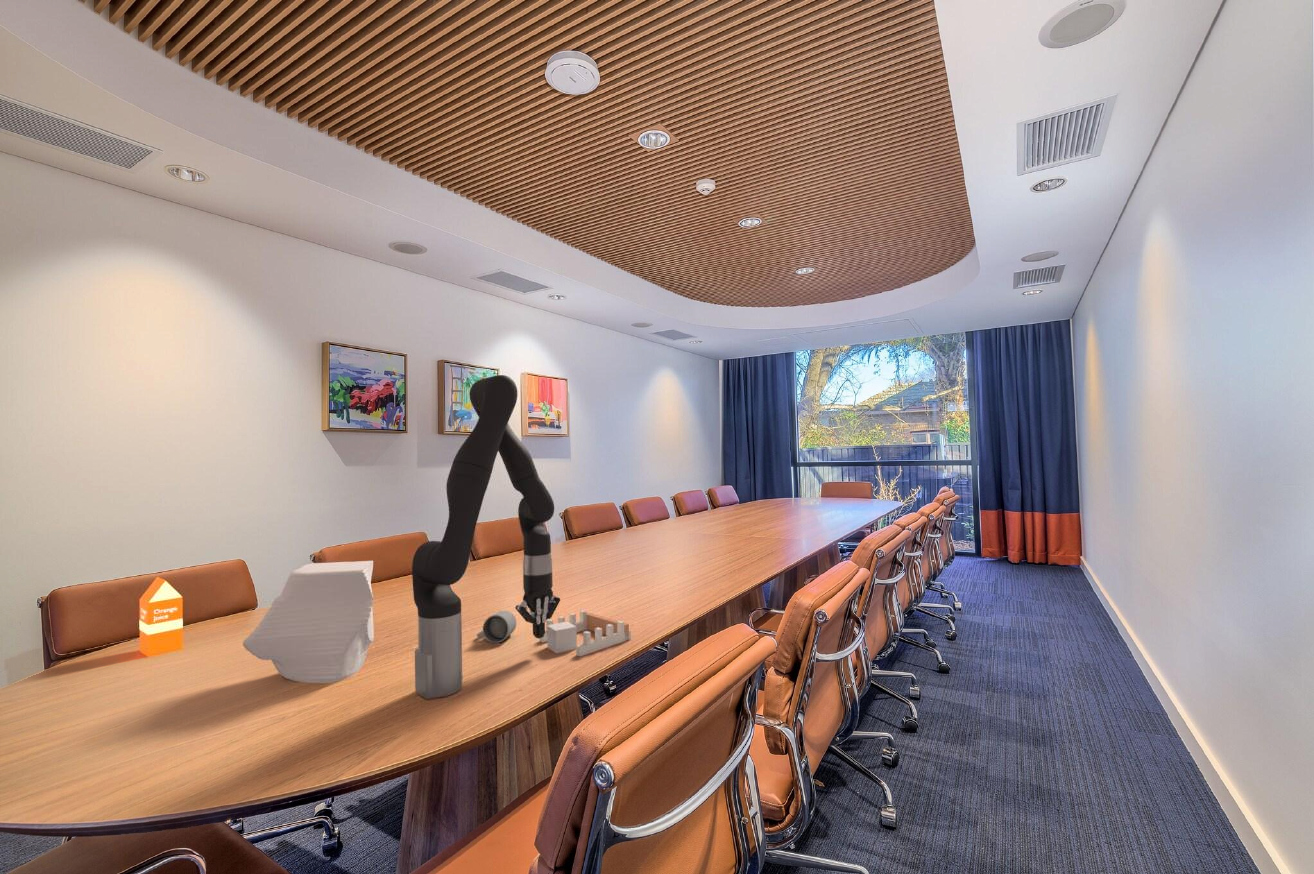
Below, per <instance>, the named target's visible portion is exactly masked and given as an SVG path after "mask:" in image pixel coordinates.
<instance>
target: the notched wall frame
mask: <svg viewBox="0 0 1314 874" xmlns="http://www.w3.org/2000/svg"><path fill="white" fill-rule="evenodd" d="M568 618H569V619H568V620H569V621H568V622H569V623H571V624H573V625H574V626H576V631H577V633H579V632H582V637H583V638H582V639H583V641H582V643H580V644H577V646H576V649H575V650H576V651H575V653H576V654H575V655H576V657H577V656H578V657H583V656H586V655H589V654H591V653H595V652H598V651H601V650H604V649H606V648H609V647H612V646H616V645H618V644H621V643H625V642H626V641H630V640H631V639H632V630H630V624H629V623H626V622H625V621H622V620H616V619H612V618H609V617H605V616H602V615H598V614H595V613H591V612H587V611H586V610H584V609H583V610H580V611H579V621H577V615H576V613H569V614H568ZM562 622H566V618H565V616H562V615H561V616H557V623H562ZM551 624H554V620H553V619H552V618H551V619H547V620H546V622H545V627H547V625H551ZM592 632H594V639H593V640H591V639H592V638H591V637H592V636H591V635H592V634H591V633H592ZM603 635H604V636H603ZM539 642H540V643H542V644H543V643H546V642H547V630H545V634H544V637H542V638H539Z"/></svg>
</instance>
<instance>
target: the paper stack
mask: <svg viewBox="0 0 1314 874" xmlns="http://www.w3.org/2000/svg"><path fill="white" fill-rule="evenodd" d="M373 567H374V560H360V561H337V562H314V563H306V564H304V565H302V566H300V567H299V568H296V569H294V570H293V571H291V572H290V574H289V576H288V578H287V580H286V582H285V585H284V586H283V588H282V591H281V593H280V595H279V596H277V597H275V598H274V600H273V602H272V603H271V606H270V607H269V609H268V610H267V611H266V613H265V615H264V616H263V617H262V618H261V621H259V624H258V626H256V627H255V629H253V631H252V632H250V634H248V636H247V637H246V638H245V639H244V640H243V642H242V646H243V648H244V649H245V650H246V651H248V652H249V653H250V654H252V656H254V657H256V658H257V659H260V660H261V661H262V660H263V661H270V660H271V662H272V664H273V666H274V667H275V669H276V671H277V672H278V673H279V675H281V676H283V678H285V679H287V680H290V681H293V682H296V683H298V682H299V683H304V684H305V683H307V684H308V683H309V684H313V683H314V684H332V683H337V682H340V681H343V680H345V679H347V678H349V677H352V676H353V675H355V674H357V673H358V672H359V671H360V670H361V668H363V665H364V663H365V659H366V657H367V654H368V650H369V648H370V644H371V643H372V642H374V638H375V636H374V635H375V634H374V633H375V632H374V631H375V629H374V628H375V627H374V618H373V617H374V615H373V612H374V611H373V602H374V593H373V590H372V586H371V585H372V584H371V583H372V582H371V581H372V576H373V570H374V568H373Z"/></svg>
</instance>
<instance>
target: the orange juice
mask: <svg viewBox="0 0 1314 874" xmlns="http://www.w3.org/2000/svg"><path fill="white" fill-rule="evenodd" d="M183 611H184V610H183V596H182V595H181V594H180V593H179V592H178V591H177V590H176V589H175V588H174V587H173V586H172V585H171V584H170V583H169V582H168V581H167V580H166V579H163V578H162V577H159V576H156V578H155V579H154V581H152V583H151V584H150V585H149V587H148V588H147V589H146V591H145V592H144V593H143V594H142V596H141V597H140V598H139V621H138V623H139V651H140V653H142V654H143V655H145V656H146V657H148V658H150V657H154V656H155V657H156V656H159V655H163V654H167V653H173V652H177V651H181V650H184V649H183V646H184V645H183V644H184V643H183V641H184V640H183V637H184V636H183V633H184V632H183V631H184V629H183V627H184V626H183V625H184V621H183V620H184V619H183Z"/></svg>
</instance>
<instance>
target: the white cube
mask: <svg viewBox="0 0 1314 874" xmlns="http://www.w3.org/2000/svg"><path fill="white" fill-rule="evenodd" d="M546 631H547V643H546V645H547V648H548V649H549V650H551V651H552V652H554V653H555V654H560V653H563V652H569V651H572V650H576V646H577V645H578V640H577V639H578V637H577V633H578V632H577V631H576V626H574V625H573V624H571V623H569V621H565V622H562V623H558V622H556V623H553V624H551V625H547V626H546Z"/></svg>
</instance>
